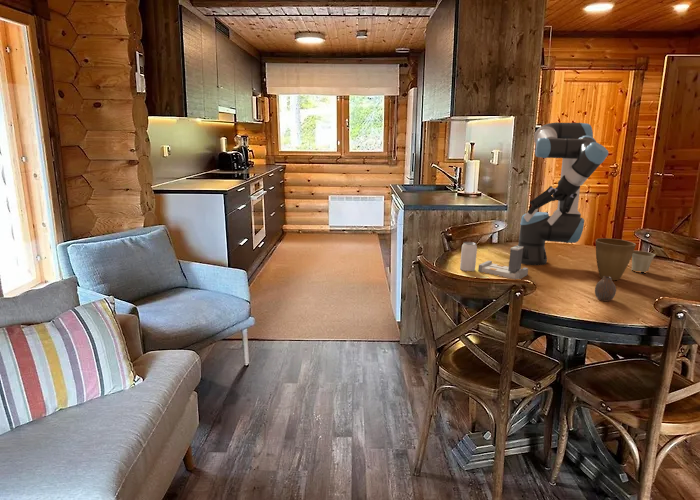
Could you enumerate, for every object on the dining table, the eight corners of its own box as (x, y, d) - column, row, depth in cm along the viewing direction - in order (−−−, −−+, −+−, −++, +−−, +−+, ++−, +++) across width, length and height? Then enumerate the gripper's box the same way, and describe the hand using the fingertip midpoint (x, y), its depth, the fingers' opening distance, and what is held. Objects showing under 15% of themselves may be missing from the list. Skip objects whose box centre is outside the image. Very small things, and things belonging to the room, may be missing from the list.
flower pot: (650, 270, 222) (653, 252, 220) (653, 276, 214) (656, 257, 212) (626, 267, 226) (630, 249, 224) (628, 273, 217) (631, 254, 215)
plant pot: (632, 285, 200) (639, 247, 196) (592, 280, 205) (597, 243, 201) (626, 275, 213) (632, 239, 209) (588, 271, 218) (594, 236, 214)
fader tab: (520, 272, 211) (523, 246, 208) (515, 275, 206) (517, 249, 203) (513, 271, 212) (516, 245, 210) (507, 274, 208) (510, 247, 205)
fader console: (527, 274, 211) (528, 268, 210) (518, 280, 203) (519, 273, 202) (487, 266, 222) (488, 260, 221) (478, 271, 214) (478, 264, 213)
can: (475, 272, 213) (477, 245, 210) (460, 271, 214) (462, 244, 211) (474, 268, 219) (477, 242, 216) (459, 267, 220) (462, 241, 217)
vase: (589, 296, 185) (593, 274, 183) (607, 296, 186) (610, 274, 184) (600, 302, 178) (603, 279, 176) (618, 302, 179) (622, 279, 177)
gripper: (555, 182, 177) (520, 224, 190) (599, 191, 189) (563, 230, 202) (544, 169, 182) (510, 211, 195) (588, 179, 194) (554, 218, 207)
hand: (537, 221), depth 198 cm, fingers open, 13 cm apart
